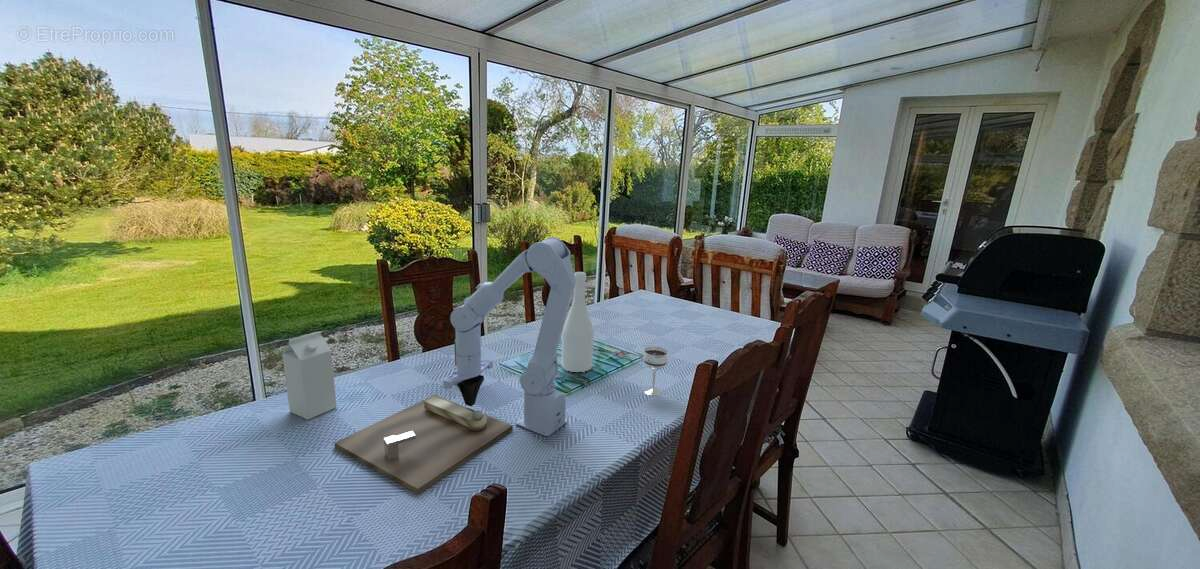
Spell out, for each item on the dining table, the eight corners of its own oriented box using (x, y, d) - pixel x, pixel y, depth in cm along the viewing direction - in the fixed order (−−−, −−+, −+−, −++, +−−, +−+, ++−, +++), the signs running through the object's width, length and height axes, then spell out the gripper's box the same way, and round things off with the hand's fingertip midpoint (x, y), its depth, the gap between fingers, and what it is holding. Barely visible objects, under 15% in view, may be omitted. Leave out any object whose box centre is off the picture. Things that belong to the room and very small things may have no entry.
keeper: (412, 445, 96) (411, 429, 95) (416, 451, 94) (415, 434, 93) (384, 454, 92) (383, 438, 91) (388, 460, 90) (387, 443, 89)
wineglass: (664, 387, 130) (667, 347, 127) (665, 398, 124) (669, 357, 121) (640, 385, 131) (643, 345, 128) (640, 396, 124) (643, 355, 122)
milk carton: (289, 412, 108) (279, 336, 104) (319, 400, 114) (311, 328, 110) (307, 420, 105) (298, 343, 101) (337, 407, 111) (329, 334, 107)
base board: (512, 430, 105) (512, 425, 105) (418, 494, 83) (417, 488, 83) (435, 399, 118) (434, 394, 117) (334, 447, 96) (334, 442, 95)
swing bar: (490, 424, 104) (490, 412, 103) (477, 432, 101) (477, 419, 100) (436, 402, 113) (435, 390, 112) (422, 409, 109) (422, 397, 109)
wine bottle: (557, 363, 143) (559, 270, 136) (584, 359, 147) (588, 268, 140) (567, 376, 134) (570, 277, 127) (597, 371, 138) (601, 275, 131)
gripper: (477, 340, 117) (478, 388, 120) (432, 358, 104) (435, 412, 107) (498, 345, 113) (499, 395, 117) (455, 365, 101) (457, 420, 104)
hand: (469, 404), depth 112 cm, fingers closed
